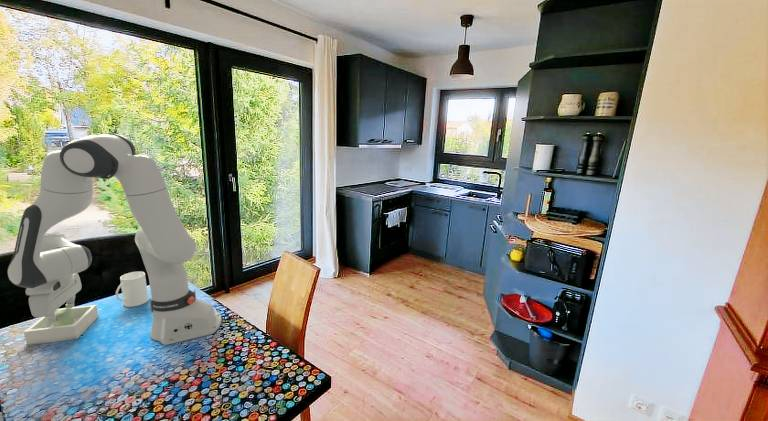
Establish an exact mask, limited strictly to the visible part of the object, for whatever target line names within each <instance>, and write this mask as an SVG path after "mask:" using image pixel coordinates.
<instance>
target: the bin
mask: <svg viewBox="0 0 768 421" xmlns="http://www.w3.org/2000/svg"><path fill="white" fill-rule="evenodd" d="M62 309H67V308H66V307H63V308H58V309H56V310H55V312H56V311H58V310H62ZM69 309H71V310H72V315H73V320H74V324H73V325H65V326H57V327H54V326H53V323H49V321H48V319H47V318H46V317H40V318H39V319H38V320H36V321H35V322H34V323H33V324H31V326H29V327H28V328H27V329H25V330H24V331H23V334H24V338H25V343H26V346H31V345H39V344H48V343H55V342H62V341H63V342H64V341H70V340H77V339H79V337H81V335H82V334H84V332H86V330H87V329H88V328H89V327H90V326H91V325H92V324H93V323H94V322H95V321H96V320H97V319H98V318H99V312H98V306H97V305H96V304H91V305H82V306H74V307H72V308H69Z"/></svg>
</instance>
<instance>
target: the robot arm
mask: <svg viewBox="0 0 768 421" xmlns="http://www.w3.org/2000/svg"><path fill="white" fill-rule="evenodd" d="M136 153H137V152H136V147H135V145H134V143H133V142H132V140H130V139H129V138H128V137H126V136H125V135H121V134H117V133H104V134H99V135H98V134H97V135H96V134H94V135H93V134H92V135H88V136H85V137H82V138H79V139H73V140H71V141H70V142H67V144H65V145H64V146H63V147H62V149H60V150H53V151H51V152H49V153H48V154H46V156H45V157H44V159H43V163H42V166H41V172H40V189H39V194H38V196H37V197H36V199H35V200H34V202H33V203H32V204H30V205H29V206H28V207H26V208H24V211H23V213H22V216H21V219H20V223H19V227H18V233H17V237H16V242H15V246H14V252H13V254H12V257H11V260H10V262H9V264H8V265H7V266H8V267H7V277H8V280H9V282H11V284H12V285H13V286H17V287H20V288H24V289H25V295H26V296H29V297H28V306H29V309H30V312H31V315H32V317H34V318H37V319H38V318H42V317H46V318H47V319H48V321H49V323H55V322H56V321H57V320H58V316H55V315H54V313H55V310H56V309H60V307H61V306H62V305H64V304H65V303H66V304H65V308H67V309H69V308H72V307H76V306H75V300H76V294H78V293H79V292H80V291H81V290H82V282H81V278H80V275H79V273H81V272H83V271H86V270H87V269H88V268H89V267H90V266H91V264H92V260H93V256H92V252H91V250H90V249H89V248H88V247H86V246H84V245H82V244H80V243H79V244H78V243H73V242H71V241H70V240H69V239H68V238H67V237H66V235H65V234H64V233H63V232H59V231H55V232H54V231H53V232H48V231H49V230H50V229H51V228H53V227H55V225H58V224H60V223H62V222H63V221H65V220H68V219H70V218H72V217H75V216H77V215H79V214H81V213H83V212H84V211H85V210H86V209H88V207H89V206H90V205H91V203H92V201H93V193H94V192H93V191H94V190H93V187H94V186H93V180H94V178H97V179H104V180H110V179H111V178H113V177H114V178H115V179H116V180H118V182H119V183H120V185H121V187H122V190H123V194H124V195H125V198H126V201H127V203H128V206H129V209H130V211H131V214H132V216H133V218H134V220H135V221H136V222H137V223H138V225H139V227H140V228H139V229H138V230H137V231H136V233H135V236H134V242H135V244H136V247H137V248H138V251H139V253H140V255H141V259H142V262H143V265H144V267H145V271H146V273H147V276H148V281H149V287H150V288H149V289H150V296H151V297H150V298H149V300H150V301H149V306H150V309H151V313H152V321H151V322H152V323H151V328H150V329H151V330H150V333H149V337H150V338H151V339H152V340H153V341H157V342H160V343H161V344H162V345H163V346H167V345H172V344H177V343H180V342H185V341H188V340H192V339H197V338H200V337H201V338H202V337H206V336H209V335H210V336H211V335H213V334H214V333H215V332H216V331H217V330H218V329H219V328H220V326H221V324H222V315H221V313H220V312H218V311H216V312H215V310H214V308H213V305H212V304H211V303H209V302H206V301H204V300H201V299H199V298H196V297H197V296H196V289H194V290H193V291H192V290H191V289H189V280H188V279H189V278H188V271H187V268H186V267H185V266H184V264H185V263H187V262H188V261H190V260H192V258H193V257H194V255H195V254H196V251H197V244H196V242H195V240H194V239H193V238H192V236H191V235H190V234H189V233H188V231H187V229H186V227H185V225H184V224H183V222H182V219H180V217H179V215H178V212H176V209H175V207H174V204H173V201H172V199H171V196H170V193H169V190H168V187H167V183H166V181H165V179H164V176H163V174H162V172H161V170H160V168H159V166H158V164H157V163H156V162H155V160H154V159H153V158H151V157H149V156H147V155H142V154H136Z"/></svg>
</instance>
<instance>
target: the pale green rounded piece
mask: <svg viewBox="0 0 768 421" xmlns="http://www.w3.org/2000/svg"><path fill="white" fill-rule="evenodd" d="M54 315H55V316H58V320H57V321H56V322H55V323H53V326H54V327H57V326H65V325H73V324H74V320H73V315H72V310H71V309H62V310H58V311H56V312H55V313H54Z"/></svg>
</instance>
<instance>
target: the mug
mask: <svg viewBox="0 0 768 421" xmlns="http://www.w3.org/2000/svg"><path fill="white" fill-rule="evenodd" d="M119 280H120V284H119V285H118V286H117V288H116V290H115V298H116V299H117V300H118V301H119V302H123V303H122V305H123V307H127V308H128V307H129V308H131V307H133V308H134V307H138V306H141V305H144V304H146V303H147V302H148V301H149V300H150V298H149V293H148V287H147V279H146V273H145V272H144V271H131V272H128V273H124V274H123V275H121V276H120V277H119ZM120 289H121V293H122V298H120V297H119V291H120Z"/></svg>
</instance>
